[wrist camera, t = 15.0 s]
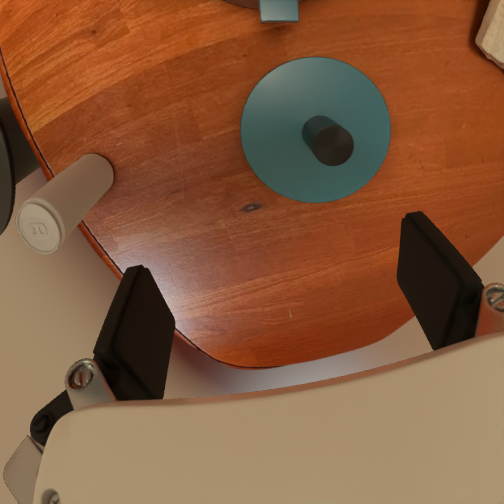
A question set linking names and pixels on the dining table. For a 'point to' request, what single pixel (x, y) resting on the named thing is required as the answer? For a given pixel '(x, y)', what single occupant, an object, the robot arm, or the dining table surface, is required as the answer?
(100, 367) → the robot arm
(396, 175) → the dining table surface
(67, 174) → the beverage can
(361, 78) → the pot lid
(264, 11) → the enamel pot
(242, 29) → the dining table surface
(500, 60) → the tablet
